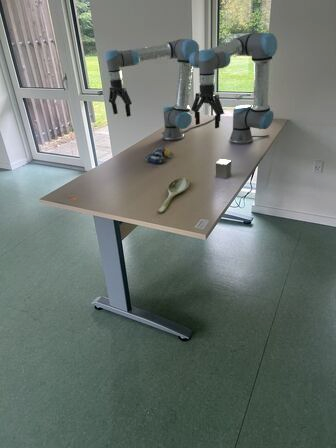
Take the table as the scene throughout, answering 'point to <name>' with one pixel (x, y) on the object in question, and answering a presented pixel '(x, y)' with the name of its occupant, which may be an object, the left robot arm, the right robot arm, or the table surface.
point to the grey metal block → (223, 168)
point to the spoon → (175, 190)
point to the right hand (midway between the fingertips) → (207, 126)
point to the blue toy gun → (159, 155)
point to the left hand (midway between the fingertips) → (122, 115)
